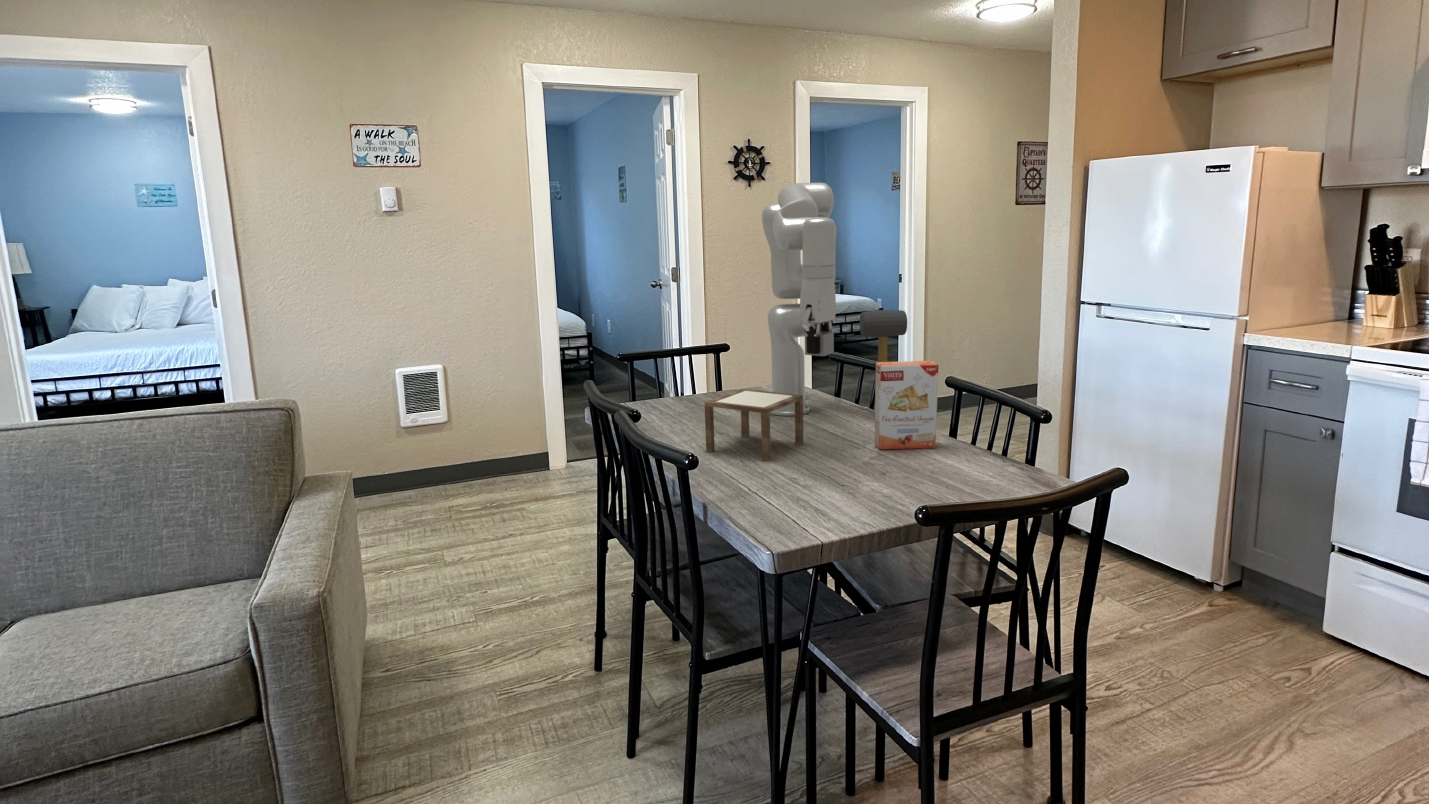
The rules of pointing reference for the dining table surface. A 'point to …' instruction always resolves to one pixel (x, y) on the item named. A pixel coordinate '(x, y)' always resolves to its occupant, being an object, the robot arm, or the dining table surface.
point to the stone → (823, 343)
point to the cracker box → (906, 404)
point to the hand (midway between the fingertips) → (819, 350)
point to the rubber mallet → (883, 327)
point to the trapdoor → (754, 398)
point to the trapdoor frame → (745, 419)
